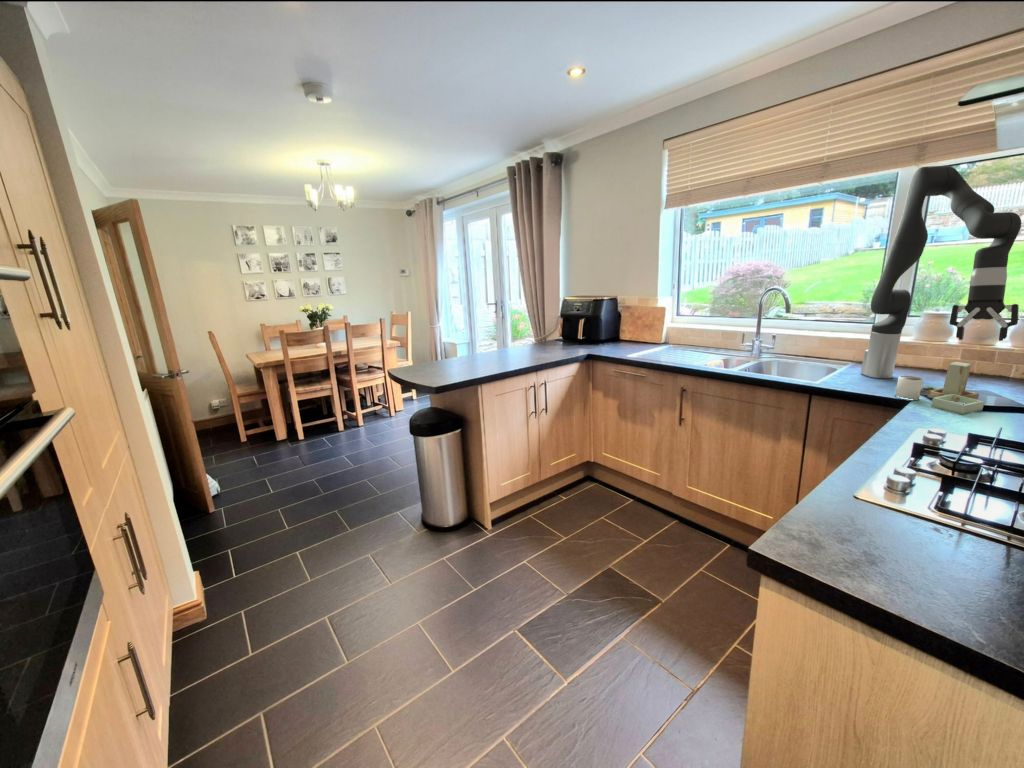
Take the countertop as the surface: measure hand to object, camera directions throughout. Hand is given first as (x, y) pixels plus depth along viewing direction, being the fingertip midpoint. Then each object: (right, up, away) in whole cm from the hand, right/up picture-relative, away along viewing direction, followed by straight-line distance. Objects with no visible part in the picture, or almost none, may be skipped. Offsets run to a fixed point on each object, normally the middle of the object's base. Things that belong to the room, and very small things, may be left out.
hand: (980, 340), depth 142 cm
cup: (-5, -18, +20) cm, 27 cm away
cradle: (+7, -17, +20) cm, 27 cm away
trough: (+1, -21, +9) cm, 23 cm away
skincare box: (+7, -18, +18) cm, 26 cm away
